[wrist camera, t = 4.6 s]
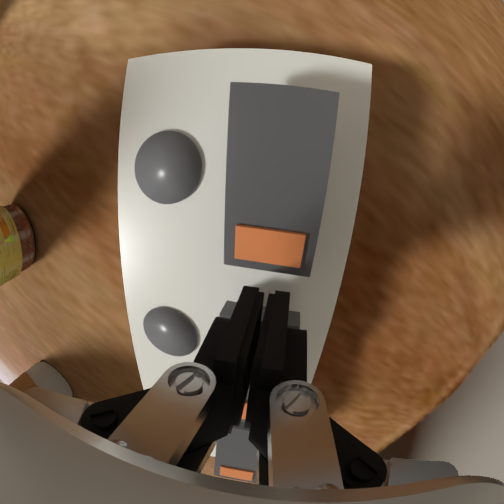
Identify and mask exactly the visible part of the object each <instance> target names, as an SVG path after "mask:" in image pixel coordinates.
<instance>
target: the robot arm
mask: <svg viewBox="0 0 504 504" xmlns="http://www.w3.org/2000/svg"><path fill="white" fill-rule="evenodd" d="M263 301H264V292H259V288H258V287H251V286H243V289H242V291H241V294H240V296H239V298H238V301H237V303H236V306H235V308H234V311H233V313H232V316H231V318H230V319H229V318H223V317H218V316H217V317H215V319H214V321H213V323H212V325H211V327H210V329H209V331H208V333H207V335H206V337H205V339H204V341H203V343H202V345H201V347H200V349H199V351H198V353H197V355H196V357H195V359H194V361H193V362H183V363H178V364H175V365H173V366H171V367H170V368H168V369H167V370H166V371H165V372H164V373H163V375H162V376H161V377H160V378H159V379H158V381H157V382H156V383H155V384H154V385H153V386H152V388H149V389H145V390H142V391H138V392H135V393H131V394H127V395H123V396H120V397H116V398H112V399H108V400H104V401H99V402H97V403H94V404H92V405H90V404H88V402H87V401H86V400H82V399H78V398H74V397H71V396H67V395H64V394H60V393H57V392H54V391H51V390H47V389H44V388H41V387H33V388H30V389H28V390H26V391H25V392H24V393H23V392H21V391H19V390H17V389H16V388H14V387H11V386H9V385H6V384H3V383H0V504H504V483H503V482H501V481H500V480H497V479H494V478H490V477H483V476H470V475H467V476H459V475H458V471H457V469H456V468H455V466H453V465H452V464H450V463H449V462H444V461H421V460H408V459H398V458H391V459H390V460H383V459H382V458H381V457H380V456H379V455H378V454H377V453H376V452H374V451H373V450H371V449H370V448H369V447H367V446H366V445H365V444H363V443H362V442H361V441H359V440H358V439H357V438H356V437H354V436H353V435H352V434H350V433H349V432H348V431H346V430H345V429H344V428H343V427H341V426H340V425H339V424H338V423H336V422H335V421H334V420H333V419H331V418H330V417H329V414H328V410H327V406H326V401H325V398H324V396H323V393H322V392H321V391H320V390H319V389H318V388H317V387H315V386H314V385H312V384H310V383H307V330H301V329H294V328H287V326H288V315H289V303H290V292H285V291H278V290H275V294H271V293H269V295H268V299H267V304H266V308H265V313H264V317H263V321H262V326H261V330H260V325H261V317H262V309H263ZM259 333H260V334H259ZM249 385H250V386H249ZM248 389H249V394H248V402H247V410H246V418H245V425H244V428H249V429H250V432H249V438H248V440H249V441H250V442H251V443H252V444H253V445H254V446H255V448H256V449H257V450H258V451H257V484H251V483H245V482H239V481H233V480H228V479H223V478H219V477H214V476H210V475H206V474H202V473H201V471H202V469H203V468H204V466H205V464H206V462H207V460H208V458H209V457H210V455H211V453H212V451H213V449H214V447H215V445H216V442H217V440H219V439H221V438H223V437H225V436H227V435H228V433H229V434H231V432H232V428H233V426H238V427H239V425H240V422H241V418H242V414H243V410H244V406H245V402H246V398H247V393H248Z"/></svg>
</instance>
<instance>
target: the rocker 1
mask: <svg viewBox="0 0 504 504" xmlns="http://www.w3.org/2000/svg"><path fill="white" fill-rule="evenodd" d="M244 425H245V422H240V425H239V427H238V426H233V428H232V432H231V434H229V433H228V435H227V436H225V437H223V438H221V439H219V440H217V442H216V455H215V470H214V475H217V476H222V477H226V478H231V479H237V480H242V481H248V482H254V483H257V451H258V450H257V449H256V448H255V446H254V445H253V444H252V443H251V442H250V441H249V440H248V438H249V432H250V429H249V428H244Z"/></svg>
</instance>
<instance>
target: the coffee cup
mask: <svg viewBox="0 0 504 504" xmlns="http://www.w3.org/2000/svg"><path fill="white" fill-rule="evenodd" d="M9 386H11V387H14V388H16V389H17V390H19V391H21V392H23V393H24V392H25V391H26V390H28V389H30V388H33V387H41V388H44V389H47V390H51V391H54V392H57V393H60V394H64V395H67V396H71V397H72V395H73V392H72V390H71V388H70V386H69V384H68V383H67V381H66V380H65V379H64V378H63V377H62V375H61V374H60V373H59V372H58V371H57V370H56V369H54V368H53V367H52V366H51V365H49V364H48V363H46V362H40V363H36V364H35V365H33V366H32V367H31V368H30V369H29V370H27V371H26V372H24V373H23V374H22V375H20V376H19V377H18V378H17V379H16V380H14V381H13V382H12V383H11V384H10V385H9Z"/></svg>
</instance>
